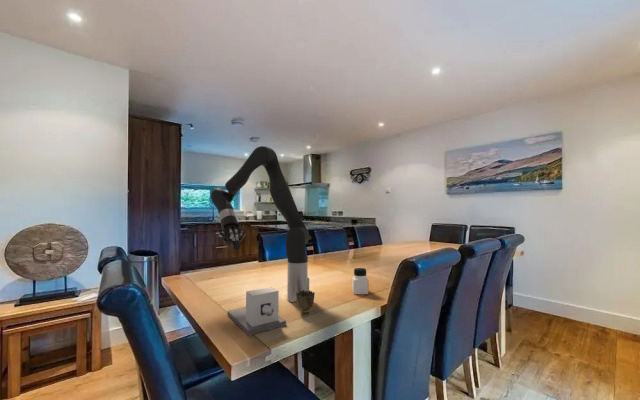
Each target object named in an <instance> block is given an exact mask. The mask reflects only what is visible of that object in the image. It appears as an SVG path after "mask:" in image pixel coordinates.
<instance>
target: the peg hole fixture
mask: <svg viewBox="0 0 640 400" xmlns="http://www.w3.org/2000/svg"><path fill="white" fill-rule="evenodd" d="M261 304H267V305H269V306H270V307H272V308H273V310H274V312H273V314H272V315H271V316H267V315H265V314H264V313H263V312H261ZM227 316H228V317H229V318H230V319H231V320H232V321H233V322H234V323H235V324H236V325H238V327H240V329H241V330H243V332H244V333H246V335H247V336H251V335H254V334H255V335H256V334H258V333H262V332H267V331H269V330H273V329H277V328H279V327H284V326H287V320H286V319H284V318H283V317H281V316H280V315H279V290H278V289H276V288H273V287H272V286H270V287H269V286H268V287H263V288H258V289H257V288H256V289H253V290H247V291H246V292H245V307H239V308H235V309H231V310H227Z"/></svg>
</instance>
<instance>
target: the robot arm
mask: <svg viewBox="0 0 640 400" xmlns="http://www.w3.org/2000/svg"><path fill="white" fill-rule="evenodd" d="M261 166H263V167H264V169H265V171H266V174H267V175H268V180H269V192H270V196H271V198H272V202H273V203H274V205H275V207H276V209H277V210H278V212H279V213H280V214H281V215H282V217H283V218H284V220H285V221H286V223H287V226H288V230H287V233H286V236H285V256H286V258H287V290H286V291H287V295H286V297H287V301H288V302H291V303H297V297H296V292H297V293H299V291H302V290H304V291H305V292H306V291H308V292H309V291H310V278H309V277H308V276H309V274H308V272H309V271H308V270H309V269H308V267H309V266H308V262H309V261H308V259H309V258H308V255H307V252H306V244H308V242H309V240H310V233H309V230H308V228H307V227H306V224H305V223H304V221H303V219H302V217H301V215H300V213H299V210H298V207H297V205H296V201H295V200H294V197H293V195H292V192H291V190H290V187H289V185H288V183H287V180H286V178H285V176H284V174H283V172H282V169H281V165H280V162H279V159H278V155H277V153H276V151H275V150H274V149H273V148H271V147H268V146H265V145H259V146H256V148H255V149H253V151H252V152H251V153H250V154H249V155H248V158H247V159H246V160H245V161H244V163H243V164H242V165H241V167H240V168H239V169H238V170H237V172H235V173H234V174H233V175H232V176H231V177H230V178H229V179H228V180H227V181H226V183H225V185H224V186H225V189H226V190H224V189H222V188H219V187H217V188H214V189H213V190H212V191H211V194H210V199H211V202H212V203H213V205H214V206H215V209H217V212H218V216H219V218H218V219H219V223H220V226H221V230H222V231H219V233H218V238H219V239H221V240H222V241H223V242H225V243H226V244H231V246H232V249H233V250H234V251H239V250H240V248H241V244H240V243H242V241H243V240H244V238H245V237H246V234H247V231H246V230H242V229H241V227H240V226H239V225H240V224H239V221H238V218H237V215H236V213H235V210H234V207H233V205H232V202H233V201H234V198H235V196H236V195H237V193H238V192H239V191H240V190H241V189H242V188H243V187H244V186H245V185H246V184H247V182H248V181H249V180H250V177H251V175H252V174H253V172H254V171H255V170H257V169H258V168H259V167H261ZM239 235H240V236H239Z"/></svg>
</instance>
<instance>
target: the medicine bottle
mask: <svg viewBox="0 0 640 400" xmlns="http://www.w3.org/2000/svg"><path fill="white" fill-rule="evenodd" d="M367 277H368V276H367V269H366V268H365V267H355V268H354V270H353V276H352V277H351V280H352V281H351V282H352V287H351V289H352V290H351V291H352V293H353V295H356V294H368V295H369V279H368V278H367Z"/></svg>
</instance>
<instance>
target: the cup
mask: <svg viewBox="0 0 640 400" xmlns="http://www.w3.org/2000/svg"><path fill="white" fill-rule="evenodd" d="M315 293H316V292H315V291H312V290H309V292H308V291H306V292H305V291H304V290H302V291H299V293H297V292H296V297H297V302H296V303H297V307H298V309H300V312H301V314H304V315H307V314H310V312H311V310H310V309H312V308H313V305H314V303H315V302H314V301H315Z"/></svg>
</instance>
